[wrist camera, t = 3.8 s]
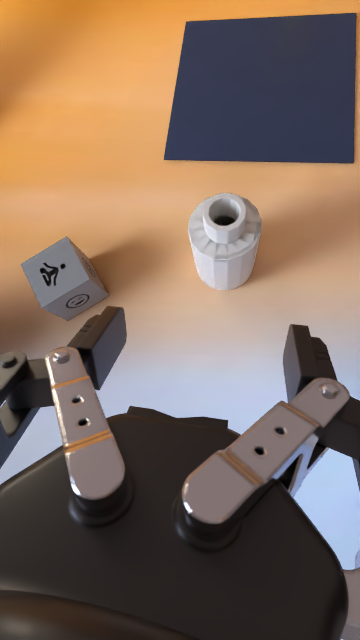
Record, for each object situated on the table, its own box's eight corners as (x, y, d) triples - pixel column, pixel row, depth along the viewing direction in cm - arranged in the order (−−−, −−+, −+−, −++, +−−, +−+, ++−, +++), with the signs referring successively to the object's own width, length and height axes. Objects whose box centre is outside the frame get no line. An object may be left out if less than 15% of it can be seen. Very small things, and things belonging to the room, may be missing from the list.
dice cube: (48, 282, 35) (20, 264, 30) (88, 258, 35) (66, 236, 30) (67, 320, 33) (41, 307, 28) (109, 295, 33) (89, 278, 29)
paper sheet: (164, 159, 36) (163, 158, 36) (186, 23, 41) (186, 21, 40) (353, 163, 33) (353, 162, 33) (355, 14, 37) (356, 12, 37)
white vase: (193, 288, 32) (180, 245, 23) (199, 236, 34) (190, 176, 24) (250, 292, 31) (261, 250, 22) (255, 239, 33) (267, 178, 23)
